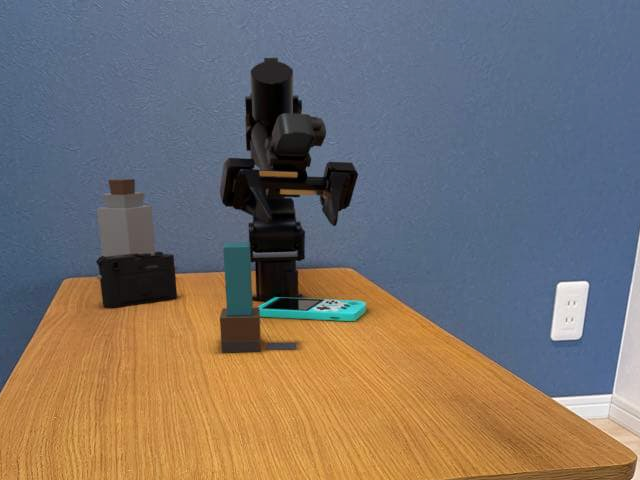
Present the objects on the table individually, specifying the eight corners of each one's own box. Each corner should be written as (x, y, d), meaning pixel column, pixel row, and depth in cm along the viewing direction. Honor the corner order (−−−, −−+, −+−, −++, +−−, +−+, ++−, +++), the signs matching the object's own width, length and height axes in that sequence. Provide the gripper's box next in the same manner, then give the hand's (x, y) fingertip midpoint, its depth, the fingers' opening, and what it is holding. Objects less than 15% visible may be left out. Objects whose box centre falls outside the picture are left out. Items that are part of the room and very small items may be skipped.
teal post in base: (224, 341, 116) (218, 241, 110) (260, 340, 116) (256, 240, 110) (221, 352, 111) (215, 248, 105) (260, 351, 111) (256, 247, 105)
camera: (165, 292, 150) (161, 244, 146) (184, 298, 145) (180, 249, 141) (88, 303, 143) (82, 253, 139) (105, 309, 138) (99, 258, 134)
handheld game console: (354, 321, 126) (354, 312, 125) (252, 316, 130) (252, 307, 130) (370, 308, 134) (370, 299, 133) (274, 304, 139) (274, 295, 138)
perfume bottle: (158, 283, 158) (148, 178, 150) (133, 289, 153) (122, 181, 145) (130, 280, 162) (120, 178, 154) (105, 286, 157) (93, 180, 149)
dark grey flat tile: (265, 349, 112) (265, 349, 112) (267, 342, 115) (267, 342, 115) (296, 349, 112) (296, 348, 112) (296, 342, 115) (296, 342, 115)
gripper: (220, 94, 113) (244, 165, 105) (352, 102, 118) (384, 170, 110) (211, 170, 122) (232, 241, 114) (333, 174, 127) (362, 242, 119)
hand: (303, 222), depth 114 cm, fingers open, 9 cm apart
